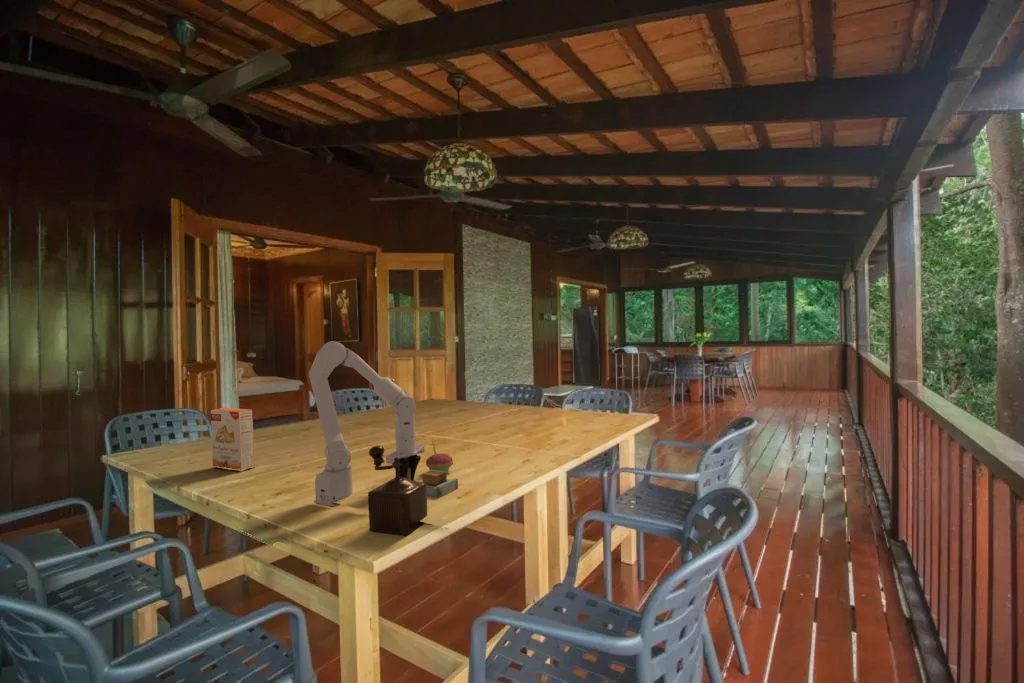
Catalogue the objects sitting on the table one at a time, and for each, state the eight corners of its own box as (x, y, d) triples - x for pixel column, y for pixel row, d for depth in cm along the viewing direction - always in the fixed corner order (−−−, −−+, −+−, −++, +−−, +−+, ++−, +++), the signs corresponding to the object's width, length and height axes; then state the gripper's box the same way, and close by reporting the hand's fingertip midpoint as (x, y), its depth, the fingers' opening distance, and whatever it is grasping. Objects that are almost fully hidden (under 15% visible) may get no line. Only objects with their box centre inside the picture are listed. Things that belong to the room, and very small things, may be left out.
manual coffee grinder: (430, 518, 123) (428, 446, 122) (407, 536, 112) (404, 457, 112) (376, 512, 128) (374, 443, 128) (349, 529, 117) (347, 453, 117)
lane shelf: (435, 503, 134) (435, 488, 133) (386, 494, 142) (385, 480, 142) (461, 490, 144) (461, 476, 144) (413, 482, 153) (413, 469, 153)
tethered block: (437, 493, 138) (436, 475, 138) (398, 486, 145) (397, 469, 145) (446, 489, 142) (446, 471, 142) (408, 482, 149) (408, 465, 149)
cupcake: (427, 481, 154) (426, 442, 154) (425, 473, 162) (424, 437, 162) (455, 478, 156) (454, 440, 156) (451, 471, 164) (450, 435, 164)
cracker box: (211, 469, 174) (209, 409, 174) (227, 464, 180) (225, 407, 179) (240, 472, 169) (237, 411, 168) (255, 468, 174) (253, 408, 174)
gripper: (398, 442, 138) (400, 491, 138) (431, 432, 150) (433, 477, 151) (379, 440, 141) (381, 487, 142) (413, 430, 154) (415, 474, 154)
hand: (406, 482), depth 146 cm, fingers closed on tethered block, 2 cm apart
